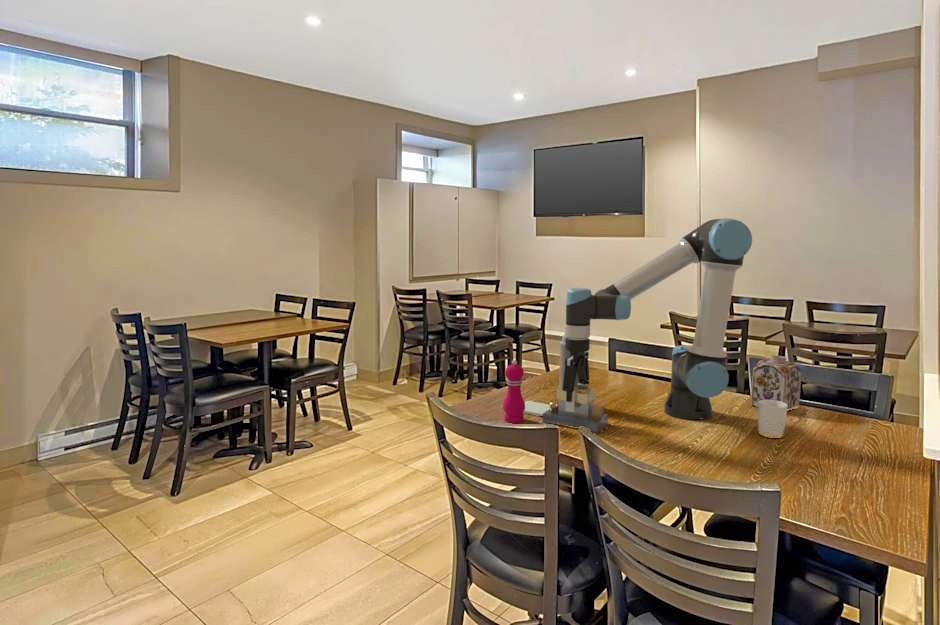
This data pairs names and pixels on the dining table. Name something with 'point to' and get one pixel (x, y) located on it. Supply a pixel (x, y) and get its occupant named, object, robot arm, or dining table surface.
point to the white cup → (771, 417)
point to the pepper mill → (514, 394)
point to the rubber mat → (535, 408)
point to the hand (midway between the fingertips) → (575, 407)
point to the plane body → (577, 415)
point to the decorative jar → (776, 381)
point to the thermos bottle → (564, 355)
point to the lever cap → (579, 394)
